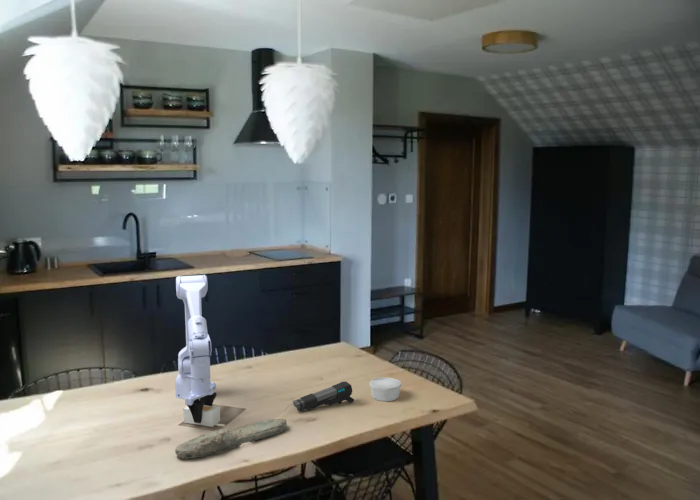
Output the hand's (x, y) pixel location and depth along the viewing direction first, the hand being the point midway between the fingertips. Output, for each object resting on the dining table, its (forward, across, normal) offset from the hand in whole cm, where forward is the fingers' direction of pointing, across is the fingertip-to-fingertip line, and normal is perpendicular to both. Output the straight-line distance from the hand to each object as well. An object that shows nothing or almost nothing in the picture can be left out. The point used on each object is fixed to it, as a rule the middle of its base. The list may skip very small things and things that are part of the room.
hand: (202, 419), depth 185 cm
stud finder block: (+1, 0, 0) cm, 1 cm away
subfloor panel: (+2, +5, -1) cm, 6 cm away
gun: (+3, +26, -31) cm, 40 cm away
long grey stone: (+3, -7, -15) cm, 17 cm away
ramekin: (+2, +41, -48) cm, 63 cm away
